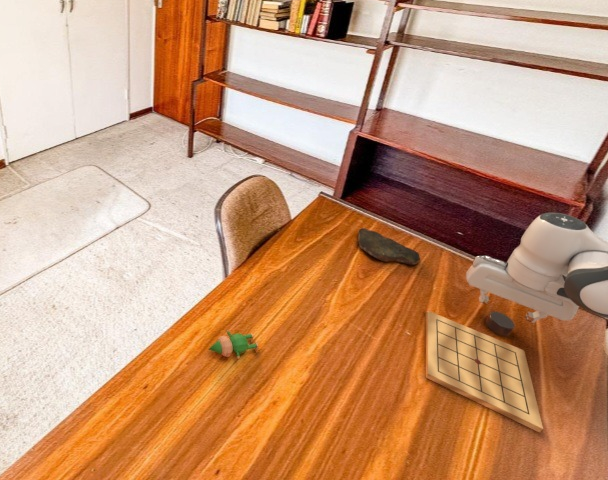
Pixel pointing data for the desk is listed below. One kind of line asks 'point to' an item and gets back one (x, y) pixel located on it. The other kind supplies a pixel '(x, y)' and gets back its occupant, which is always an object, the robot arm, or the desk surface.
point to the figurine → (233, 344)
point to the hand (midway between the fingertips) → (505, 310)
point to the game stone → (500, 323)
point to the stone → (386, 248)
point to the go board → (481, 369)
